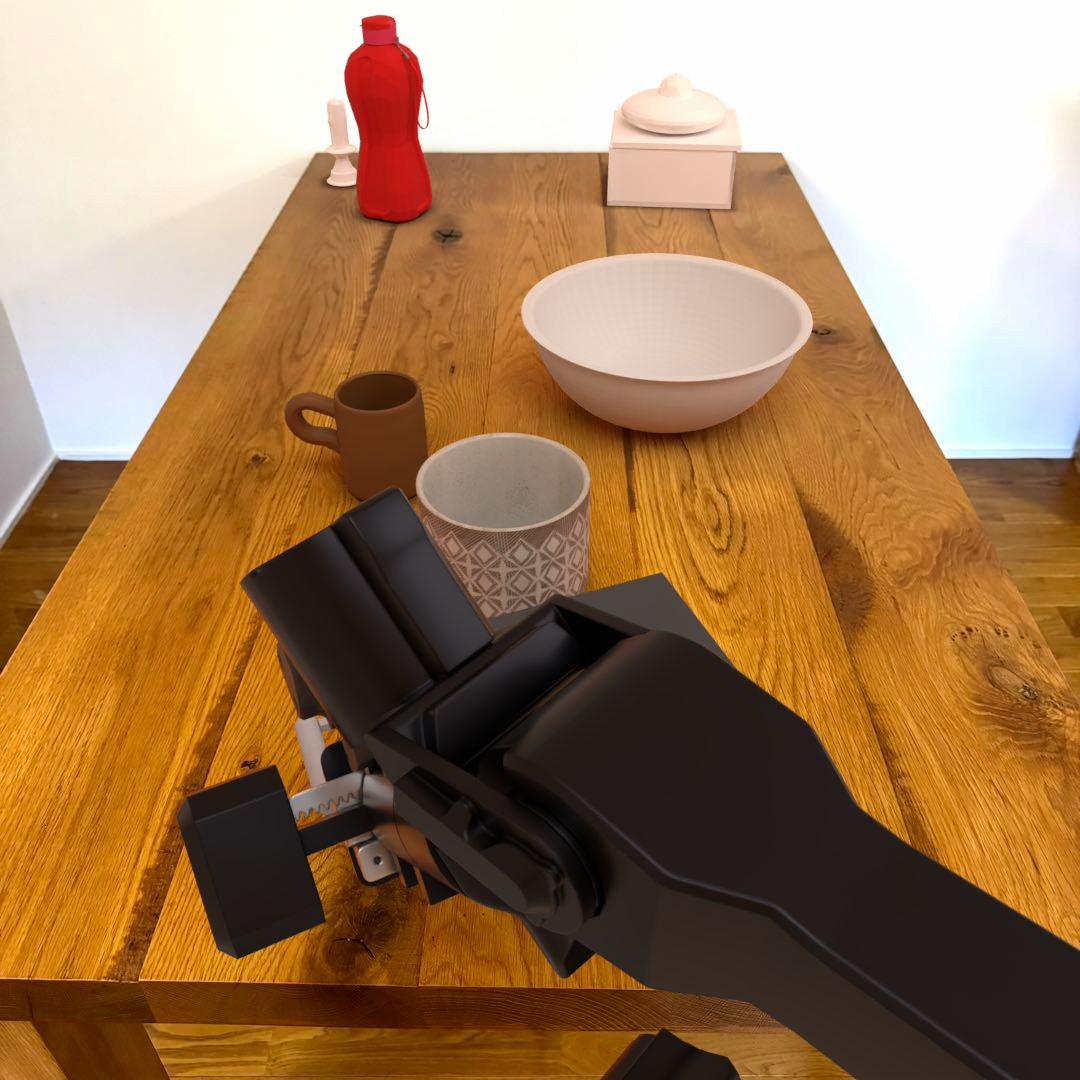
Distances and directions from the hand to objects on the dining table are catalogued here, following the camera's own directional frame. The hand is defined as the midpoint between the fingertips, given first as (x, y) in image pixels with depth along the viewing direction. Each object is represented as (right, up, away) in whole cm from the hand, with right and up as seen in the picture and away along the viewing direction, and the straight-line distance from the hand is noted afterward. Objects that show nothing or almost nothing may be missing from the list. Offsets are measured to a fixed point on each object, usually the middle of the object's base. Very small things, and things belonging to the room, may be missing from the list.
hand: (392, 780), depth 50 cm
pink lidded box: (+26, +64, +104) cm, 125 cm away
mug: (-9, +16, +44) cm, 48 cm away
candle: (-22, +65, +107) cm, 127 cm away
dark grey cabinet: (+11, -3, +19) cm, 22 cm away
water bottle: (-12, +57, +97) cm, 113 cm away
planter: (+4, +8, +32) cm, 33 cm away
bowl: (+19, +25, +55) cm, 63 cm away
